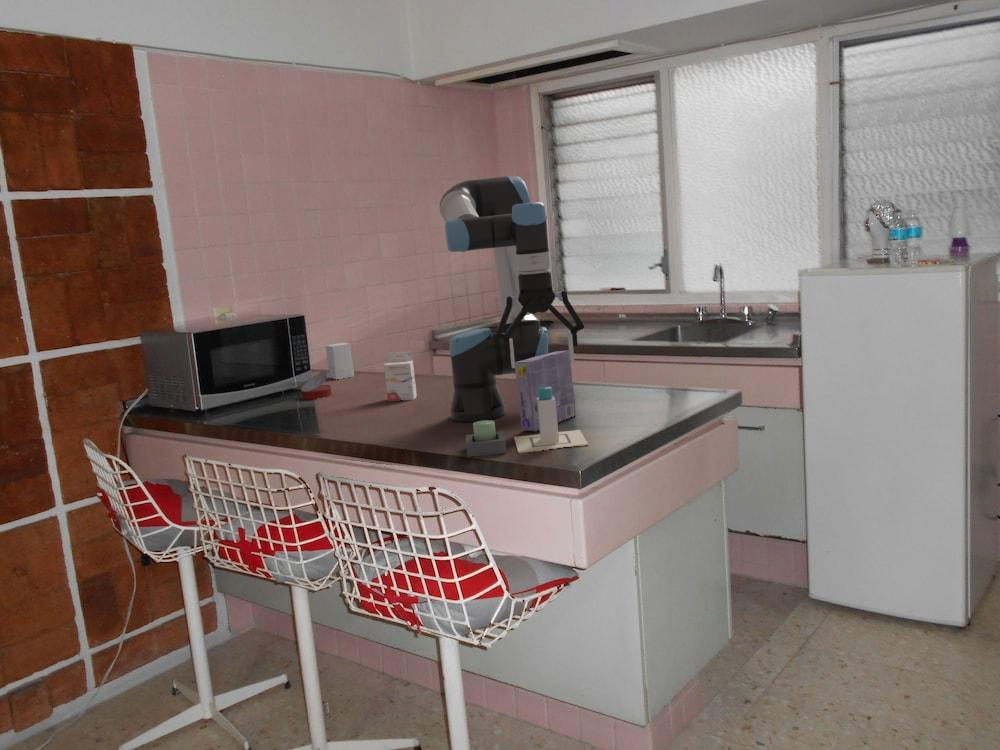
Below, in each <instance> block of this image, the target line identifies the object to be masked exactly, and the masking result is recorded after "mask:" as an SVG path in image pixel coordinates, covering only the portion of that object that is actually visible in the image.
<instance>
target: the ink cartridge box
mask: <svg viewBox="0 0 1000 750" xmlns="http://www.w3.org/2000/svg"><path fill="white" fill-rule="evenodd" d="M385 355H386V359H387V360H386V362H385V364H383V368H384V378H385V386H386V389H385V390H386V397H387V402H398V401H399V402H400V400H403V401H414V400H415V399H416V398H417V385H416V379H415V369H414V361H413V357H412V356H413V355H412V352H411V350H408V351H395V352H387V353H386V354H385ZM398 356H400V357H398ZM401 356H403V357H401Z"/></svg>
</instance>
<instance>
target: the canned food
mask: <svg viewBox="0 0 1000 750" xmlns="http://www.w3.org/2000/svg"><path fill="white" fill-rule="evenodd" d="M327 373H328V371H327V370H322V371H321V372H318V373H317V374H316V375H314V376H313V377H311V378H310V379H308V380H307V382H305V383H304V384H303V385H302V387H301V389H300V393H301V399H302V400H303V399H315V400H318V399H317V398H322V399H324V398H323V397H326V398H328V397H327V396H329V397H331V396H332V395H333V393H332V388H331V387H332V386H331V385H327V384H326V385H325V384H324V383H325V381H326V379H327V377H328V374H327ZM330 395H331V396H330Z"/></svg>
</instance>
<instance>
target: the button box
mask: <svg viewBox="0 0 1000 750" xmlns="http://www.w3.org/2000/svg"><path fill="white" fill-rule="evenodd" d="M495 432H496V440H487V441H478V442H475V439H474V433H473V434H465V446H466V455H467V458H471V456H474V457H481V456H480V455H483V456H489V455H491V454H492V455H499V454H507V453H508V450H507V440H506V436H505V432H504V430H501V431H500V430H499V431H495Z"/></svg>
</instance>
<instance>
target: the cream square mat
mask: <svg viewBox="0 0 1000 750" xmlns="http://www.w3.org/2000/svg"><path fill="white" fill-rule="evenodd" d="M558 434H559V442H551V443H542V442H541V440H540V433H536V434H531V435H521V436H514V437H513V438H514V443H515V446H516V450H517V453H518V454H525V453H532V452H534V451H535V452H542V450H544V451H550V450H549V449H553V450H558V449H557V448H562V449H564V448H563V447H572V448H574V447H573V446H581V447H586V446H585V445H588V446H589V443H588V441H587V440H586V438H585V436H584V434H583V433H582V431H581V429H576V430H567V431H558Z"/></svg>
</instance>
